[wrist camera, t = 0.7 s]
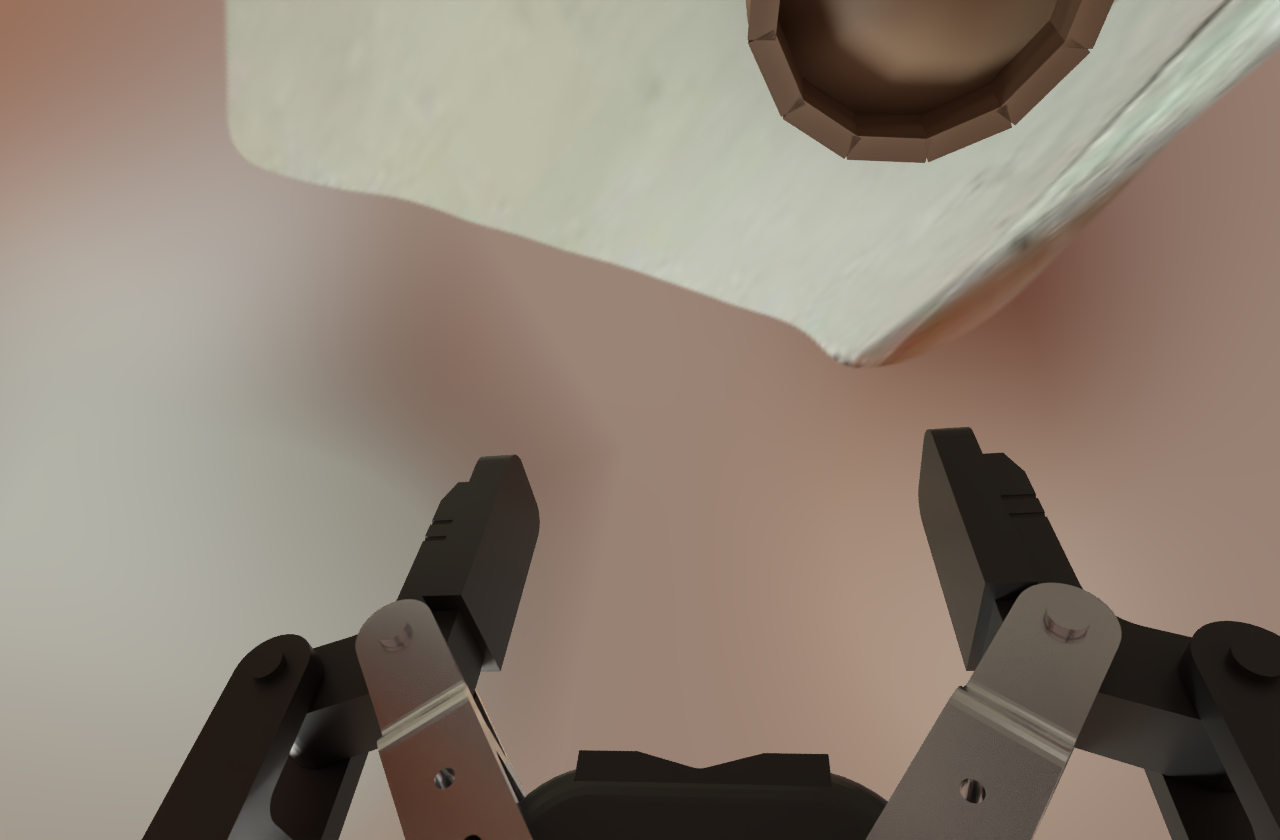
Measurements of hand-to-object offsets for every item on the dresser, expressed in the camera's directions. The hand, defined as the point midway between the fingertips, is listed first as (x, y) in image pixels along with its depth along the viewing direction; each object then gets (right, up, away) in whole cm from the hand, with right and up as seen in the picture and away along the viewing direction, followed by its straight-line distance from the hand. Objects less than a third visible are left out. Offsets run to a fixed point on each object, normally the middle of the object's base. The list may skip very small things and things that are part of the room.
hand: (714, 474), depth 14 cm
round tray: (+11, +21, +17) cm, 29 cm away
